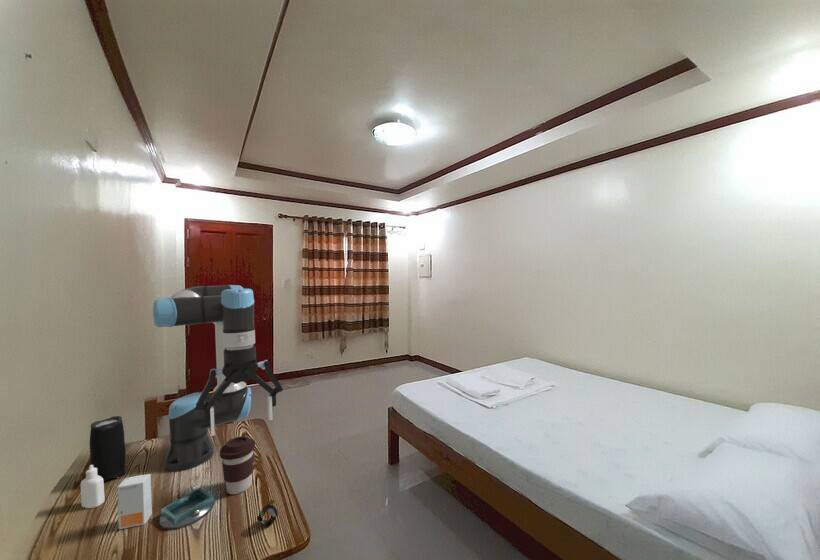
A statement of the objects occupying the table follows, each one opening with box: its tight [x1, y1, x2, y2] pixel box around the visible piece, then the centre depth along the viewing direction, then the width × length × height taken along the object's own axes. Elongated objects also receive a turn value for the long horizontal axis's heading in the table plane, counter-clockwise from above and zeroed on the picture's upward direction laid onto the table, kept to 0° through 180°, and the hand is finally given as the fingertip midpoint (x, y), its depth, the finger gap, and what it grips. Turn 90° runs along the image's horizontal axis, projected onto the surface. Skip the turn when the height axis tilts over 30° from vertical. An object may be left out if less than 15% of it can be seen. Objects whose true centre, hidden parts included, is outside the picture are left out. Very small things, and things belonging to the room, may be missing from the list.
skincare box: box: [116, 473, 153, 530], centre depth 87 cm, size 6×4×12 cm
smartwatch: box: [256, 503, 279, 528], centre depth 85 cm, size 4×5×5 cm
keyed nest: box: [159, 487, 216, 531], centre depth 91 cm, size 13×13×3 cm
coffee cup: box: [219, 435, 256, 495], centre depth 100 cm, size 10×10×15 cm
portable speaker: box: [89, 415, 126, 482], centre depth 107 cm, size 9×9×20 cm
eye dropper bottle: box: [80, 464, 105, 509], centre depth 94 cm, size 4×6×12 cm
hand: (242, 425), depth 83 cm, fingers open, 13 cm apart
